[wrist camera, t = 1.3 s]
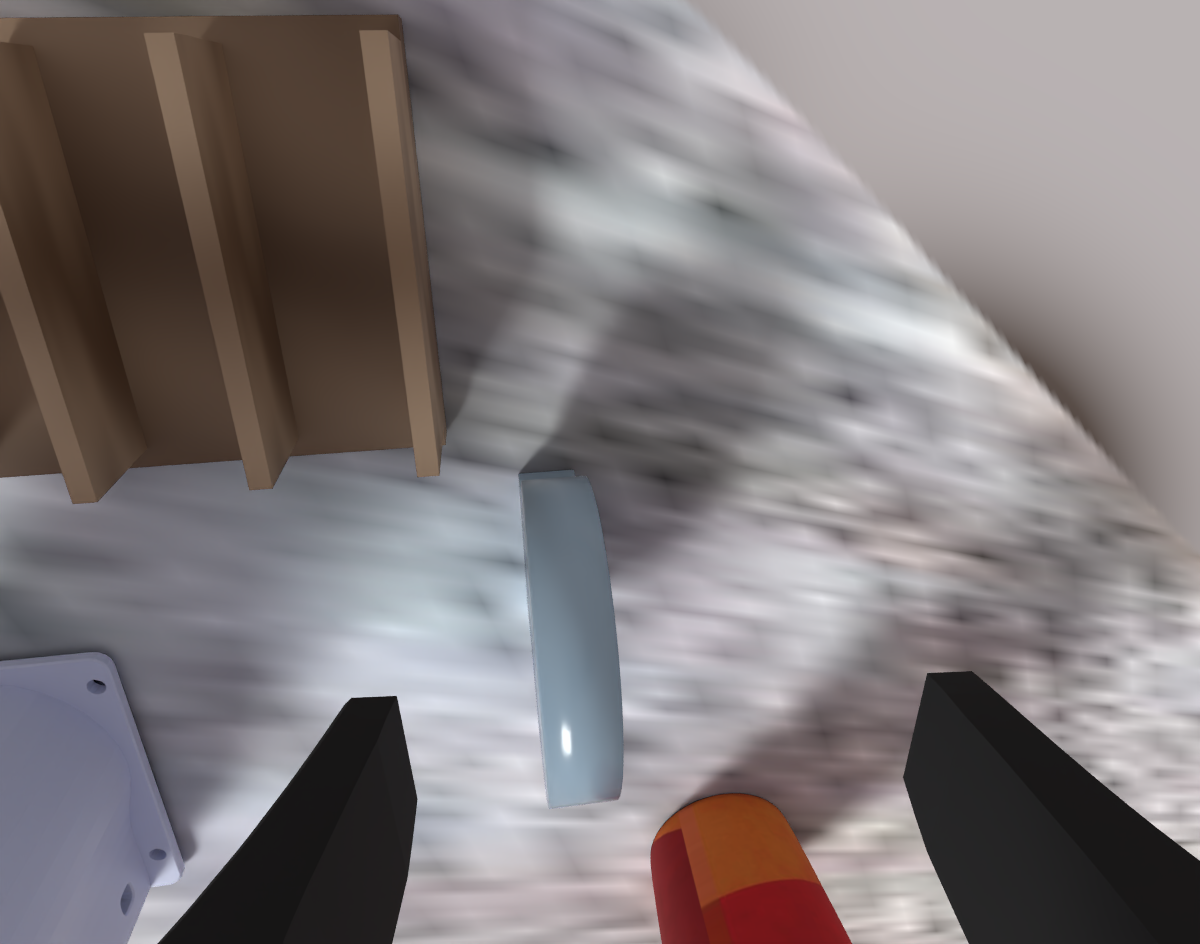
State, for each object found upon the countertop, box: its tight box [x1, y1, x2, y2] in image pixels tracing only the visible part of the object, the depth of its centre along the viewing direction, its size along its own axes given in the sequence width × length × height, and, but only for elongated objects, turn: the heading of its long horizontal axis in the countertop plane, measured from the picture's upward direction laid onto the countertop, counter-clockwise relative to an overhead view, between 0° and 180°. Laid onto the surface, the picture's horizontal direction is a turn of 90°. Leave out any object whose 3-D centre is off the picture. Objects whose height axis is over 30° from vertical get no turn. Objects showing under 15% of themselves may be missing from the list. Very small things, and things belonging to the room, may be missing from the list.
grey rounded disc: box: [519, 470, 623, 809], centre depth 20 cm, size 8×2×8 cm, turn 1°
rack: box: [0, 15, 447, 504], centre depth 18 cm, size 10×12×4 cm
